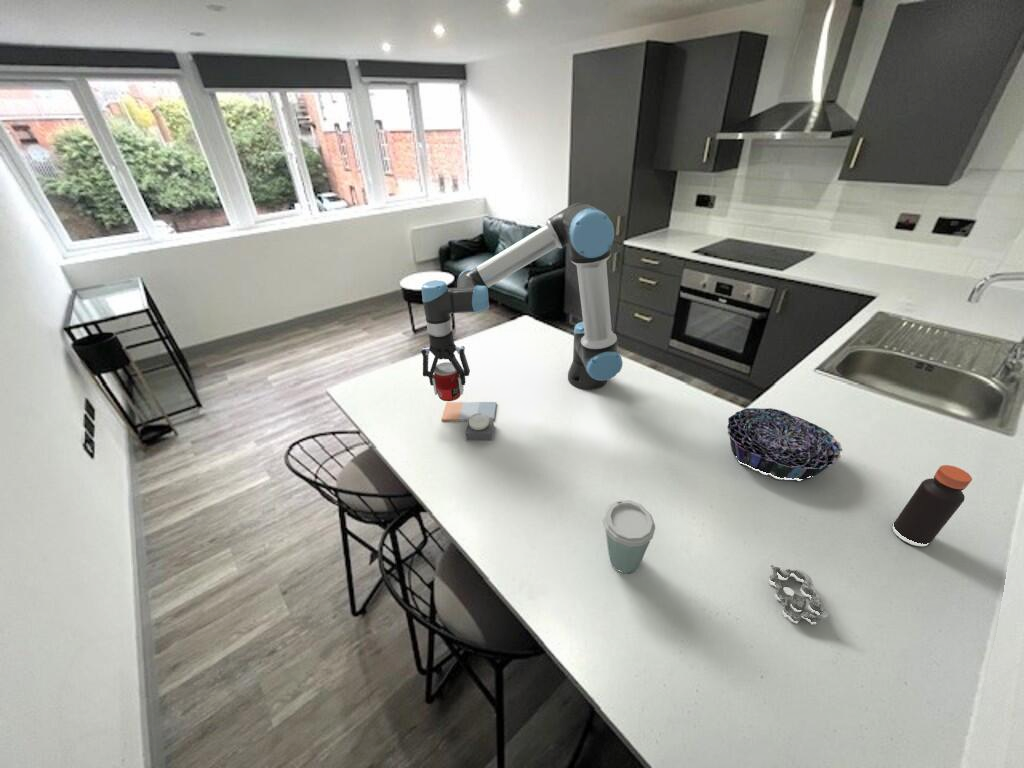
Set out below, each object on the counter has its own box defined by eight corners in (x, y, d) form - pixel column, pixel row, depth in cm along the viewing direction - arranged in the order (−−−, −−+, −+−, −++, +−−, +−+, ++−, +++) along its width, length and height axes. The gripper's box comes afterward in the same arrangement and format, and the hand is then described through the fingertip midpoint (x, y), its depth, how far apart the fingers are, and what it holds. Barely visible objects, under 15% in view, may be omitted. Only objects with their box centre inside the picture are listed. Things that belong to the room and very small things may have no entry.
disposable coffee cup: (657, 575, 90) (667, 530, 82) (612, 589, 88) (619, 545, 80) (631, 536, 99) (639, 492, 91) (590, 548, 97) (594, 504, 89)
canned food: (457, 402, 137) (453, 374, 131) (434, 400, 138) (429, 372, 133) (464, 390, 143) (460, 362, 137) (442, 388, 145) (438, 361, 139)
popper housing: (493, 424, 138) (492, 417, 136) (491, 440, 131) (490, 432, 130) (469, 424, 138) (468, 417, 137) (466, 440, 132) (465, 433, 130)
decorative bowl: (734, 423, 136) (739, 397, 131) (838, 450, 120) (848, 422, 115) (711, 468, 119) (715, 441, 114) (827, 507, 103) (839, 477, 98)
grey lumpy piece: (763, 573, 90) (769, 562, 88) (801, 578, 89) (808, 566, 86) (781, 623, 81) (788, 611, 79) (824, 629, 80) (832, 617, 78)
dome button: (490, 423, 137) (489, 410, 134) (488, 436, 131) (487, 422, 128) (471, 423, 137) (469, 410, 134) (468, 436, 132) (467, 422, 129)
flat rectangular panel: (496, 403, 148) (496, 401, 148) (494, 420, 140) (493, 419, 139) (446, 404, 149) (446, 402, 149) (441, 421, 141) (441, 419, 140)
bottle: (883, 523, 99) (925, 461, 88) (913, 523, 98) (958, 461, 88) (905, 548, 93) (952, 485, 82) (937, 548, 93) (988, 485, 82)
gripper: (475, 326, 130) (481, 386, 143) (410, 327, 132) (421, 386, 144) (471, 336, 124) (478, 398, 136) (404, 337, 125) (416, 399, 138)
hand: (449, 392), depth 140 cm, fingers closed on canned food, 8 cm apart
